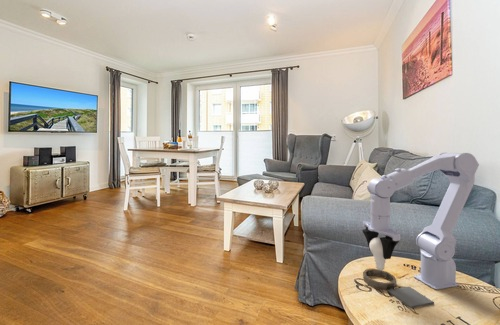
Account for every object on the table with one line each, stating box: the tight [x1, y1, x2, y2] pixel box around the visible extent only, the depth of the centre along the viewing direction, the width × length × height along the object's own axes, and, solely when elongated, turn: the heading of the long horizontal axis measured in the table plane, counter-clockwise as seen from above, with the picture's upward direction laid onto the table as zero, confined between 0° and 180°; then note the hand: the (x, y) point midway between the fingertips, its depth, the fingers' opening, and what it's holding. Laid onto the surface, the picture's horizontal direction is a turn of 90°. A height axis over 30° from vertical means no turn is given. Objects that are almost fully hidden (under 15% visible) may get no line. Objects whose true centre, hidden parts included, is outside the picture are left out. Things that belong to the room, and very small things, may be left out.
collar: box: [362, 268, 397, 291], centre depth 79 cm, size 10×10×2 cm
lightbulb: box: [368, 236, 387, 271], centre depth 79 cm, size 6×6×11 cm
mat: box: [387, 286, 434, 309], centre depth 71 cm, size 8×8×1 cm
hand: (379, 254), depth 79 cm, fingers closed on lightbulb, 6 cm apart
